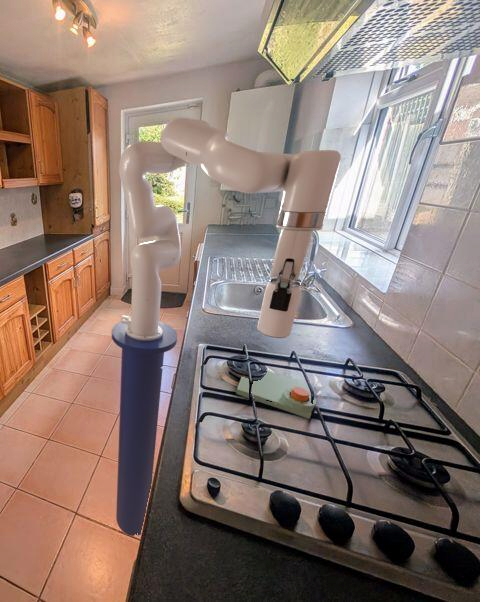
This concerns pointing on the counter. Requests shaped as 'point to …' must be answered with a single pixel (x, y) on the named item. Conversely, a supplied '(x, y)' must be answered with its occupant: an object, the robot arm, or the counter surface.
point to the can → (278, 312)
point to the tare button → (300, 394)
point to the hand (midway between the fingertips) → (279, 303)
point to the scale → (278, 393)
